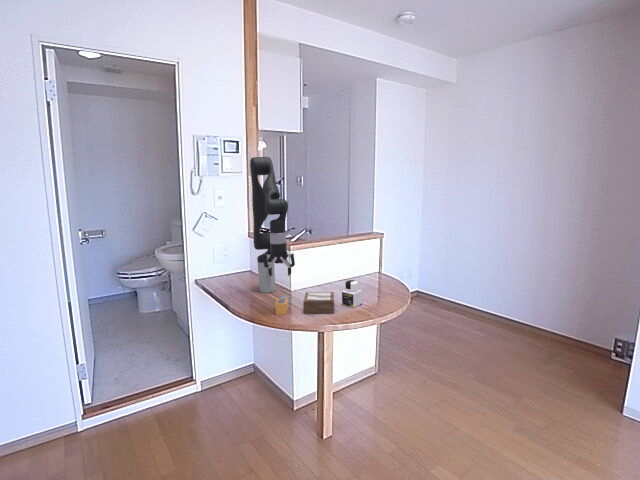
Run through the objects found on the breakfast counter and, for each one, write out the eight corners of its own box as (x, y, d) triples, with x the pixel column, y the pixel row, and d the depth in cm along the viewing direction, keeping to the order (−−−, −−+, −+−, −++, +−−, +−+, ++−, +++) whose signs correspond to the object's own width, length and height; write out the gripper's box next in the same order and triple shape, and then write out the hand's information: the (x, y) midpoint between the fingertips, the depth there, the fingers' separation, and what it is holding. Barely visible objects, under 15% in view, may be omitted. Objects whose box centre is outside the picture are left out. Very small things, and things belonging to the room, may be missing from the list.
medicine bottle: (341, 304, 186) (341, 281, 184) (350, 301, 191) (350, 278, 189) (353, 308, 181) (352, 284, 179) (362, 304, 186) (361, 280, 184)
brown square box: (306, 303, 189) (305, 291, 188) (333, 303, 189) (333, 291, 188) (303, 314, 175) (303, 301, 174) (333, 313, 175) (333, 300, 174)
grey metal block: (280, 301, 194) (280, 296, 194) (288, 301, 195) (288, 295, 195) (282, 304, 190) (281, 298, 190) (289, 303, 191) (289, 297, 191)
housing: (278, 307, 185) (277, 297, 184) (288, 307, 185) (287, 297, 184) (275, 314, 176) (275, 303, 176) (286, 314, 176) (285, 303, 176)
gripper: (294, 240, 179) (295, 273, 181) (264, 240, 179) (266, 273, 182) (292, 242, 171) (294, 277, 174) (261, 243, 172) (263, 278, 175)
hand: (280, 275), depth 178 cm, fingers open, 8 cm apart
